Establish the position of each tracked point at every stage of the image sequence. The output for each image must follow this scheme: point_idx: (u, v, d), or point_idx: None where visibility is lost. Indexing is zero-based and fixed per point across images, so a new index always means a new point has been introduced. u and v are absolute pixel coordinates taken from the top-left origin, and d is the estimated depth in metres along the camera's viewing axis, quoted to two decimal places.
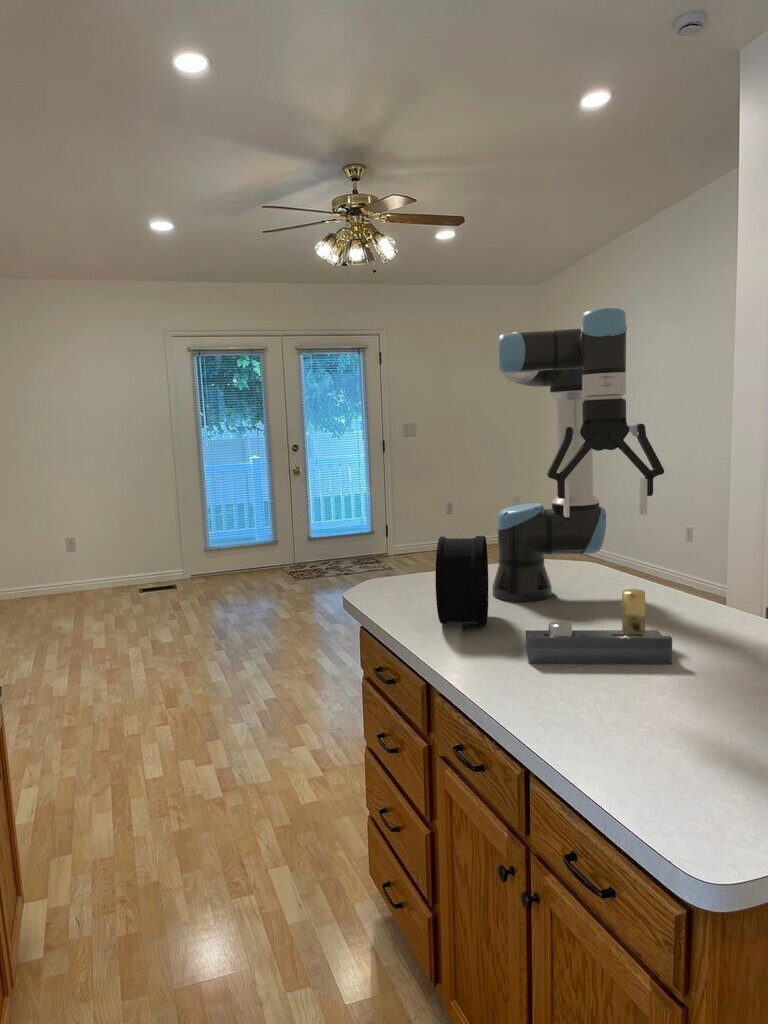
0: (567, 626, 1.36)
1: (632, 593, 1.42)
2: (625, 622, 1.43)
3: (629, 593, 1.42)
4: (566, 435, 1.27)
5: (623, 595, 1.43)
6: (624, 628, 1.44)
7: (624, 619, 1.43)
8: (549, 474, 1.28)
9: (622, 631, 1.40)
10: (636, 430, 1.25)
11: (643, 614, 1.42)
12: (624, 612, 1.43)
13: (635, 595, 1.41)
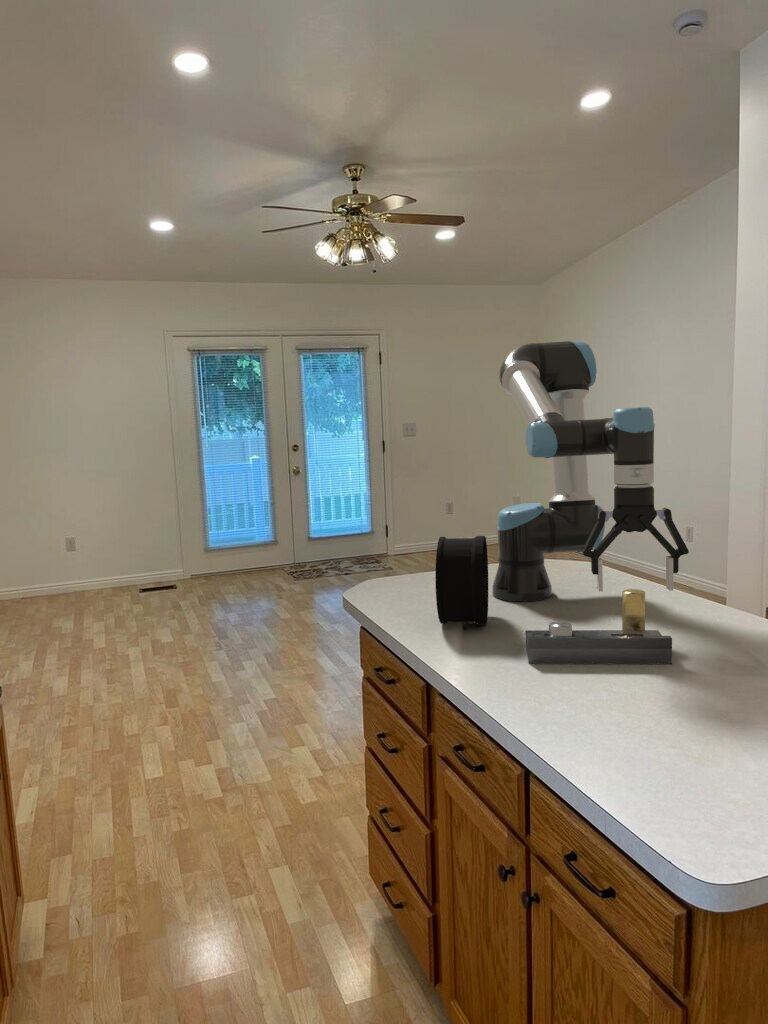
0: (567, 626, 1.36)
1: (632, 593, 1.42)
2: (625, 622, 1.43)
3: (629, 593, 1.42)
4: (600, 518, 1.41)
5: (623, 595, 1.43)
6: (624, 628, 1.44)
7: (624, 619, 1.43)
8: (584, 553, 1.42)
9: (622, 631, 1.40)
10: (663, 514, 1.39)
11: (643, 614, 1.42)
12: (624, 612, 1.43)
13: (635, 595, 1.41)
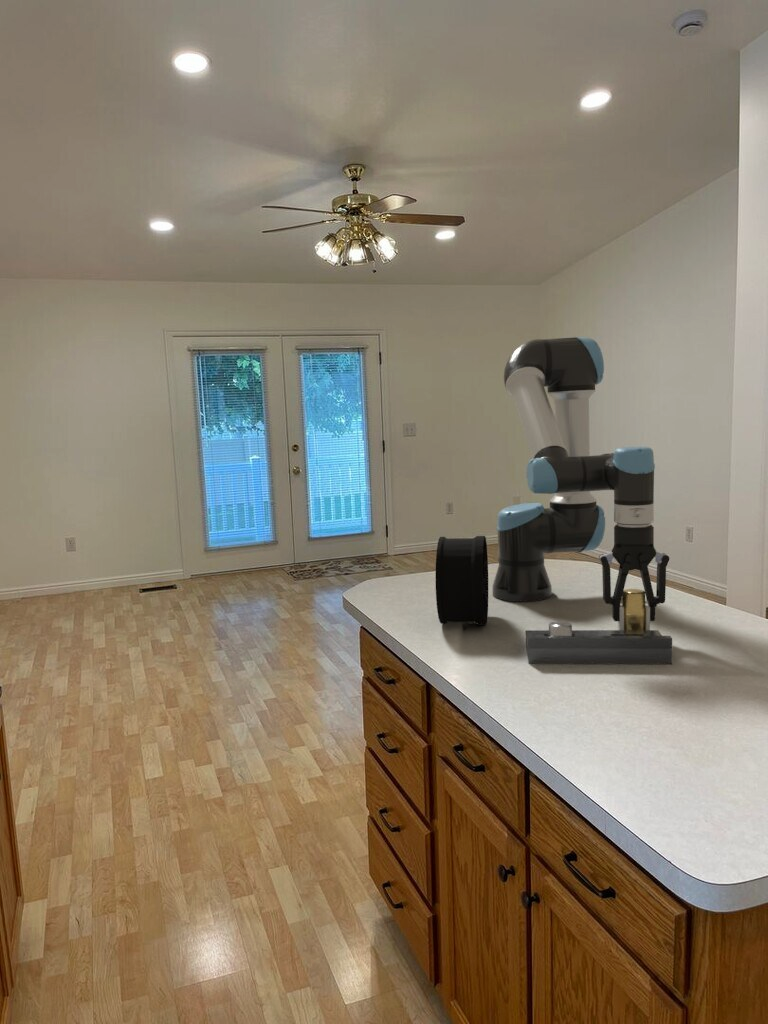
0: (567, 626, 1.36)
1: (632, 593, 1.42)
2: (625, 621, 1.43)
3: (629, 593, 1.42)
4: (603, 564, 1.42)
5: (623, 595, 1.43)
6: (624, 628, 1.44)
7: (624, 619, 1.43)
8: (606, 601, 1.43)
9: (622, 631, 1.40)
10: (660, 558, 1.41)
11: (643, 614, 1.42)
12: (624, 612, 1.43)
13: (635, 595, 1.41)
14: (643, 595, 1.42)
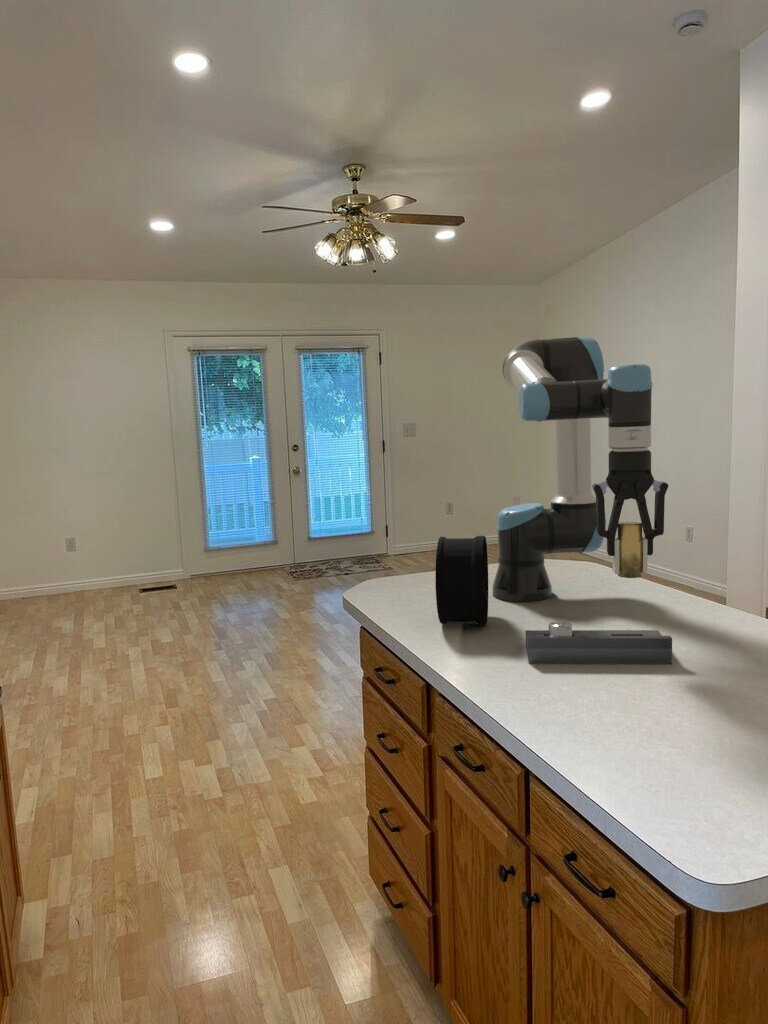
0: (567, 626, 1.36)
1: (628, 524, 1.31)
2: (621, 556, 1.32)
3: (625, 524, 1.31)
4: (597, 493, 1.31)
5: (618, 527, 1.32)
6: (619, 563, 1.33)
7: (619, 553, 1.33)
8: (600, 533, 1.32)
9: (622, 631, 1.40)
10: (658, 486, 1.30)
11: (640, 547, 1.31)
12: (619, 545, 1.32)
13: (631, 526, 1.30)
14: (640, 526, 1.31)
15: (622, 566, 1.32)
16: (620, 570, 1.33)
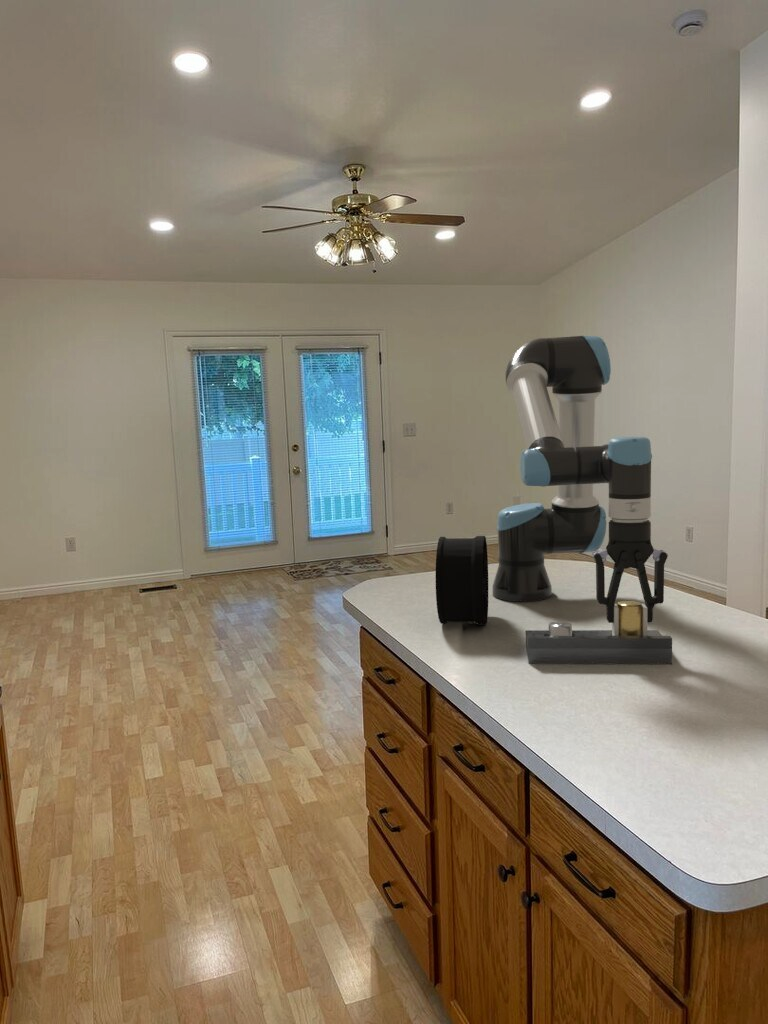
0: (567, 626, 1.36)
1: (628, 605, 1.34)
2: None
3: (625, 605, 1.34)
4: (597, 562, 1.33)
5: (618, 607, 1.35)
6: None
7: (619, 633, 1.35)
8: (599, 601, 1.34)
9: None
10: (658, 556, 1.32)
11: (639, 628, 1.34)
12: (619, 626, 1.35)
13: (631, 608, 1.33)
14: (639, 608, 1.33)
15: None
16: None
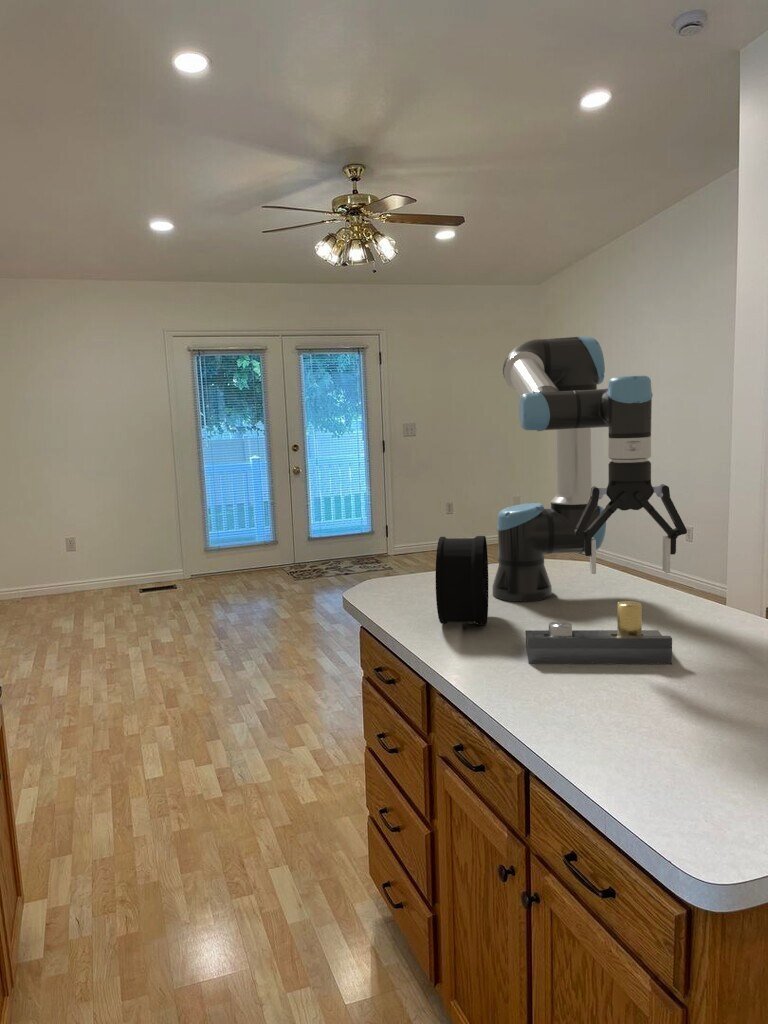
0: (567, 626, 1.36)
1: (628, 605, 1.34)
2: None
3: (625, 605, 1.34)
4: (593, 495, 1.32)
5: (618, 607, 1.35)
6: None
7: (619, 633, 1.35)
8: (577, 533, 1.33)
9: None
10: (660, 491, 1.30)
11: (639, 628, 1.34)
12: (619, 626, 1.35)
13: (631, 608, 1.33)
14: (639, 608, 1.33)
15: None
16: None
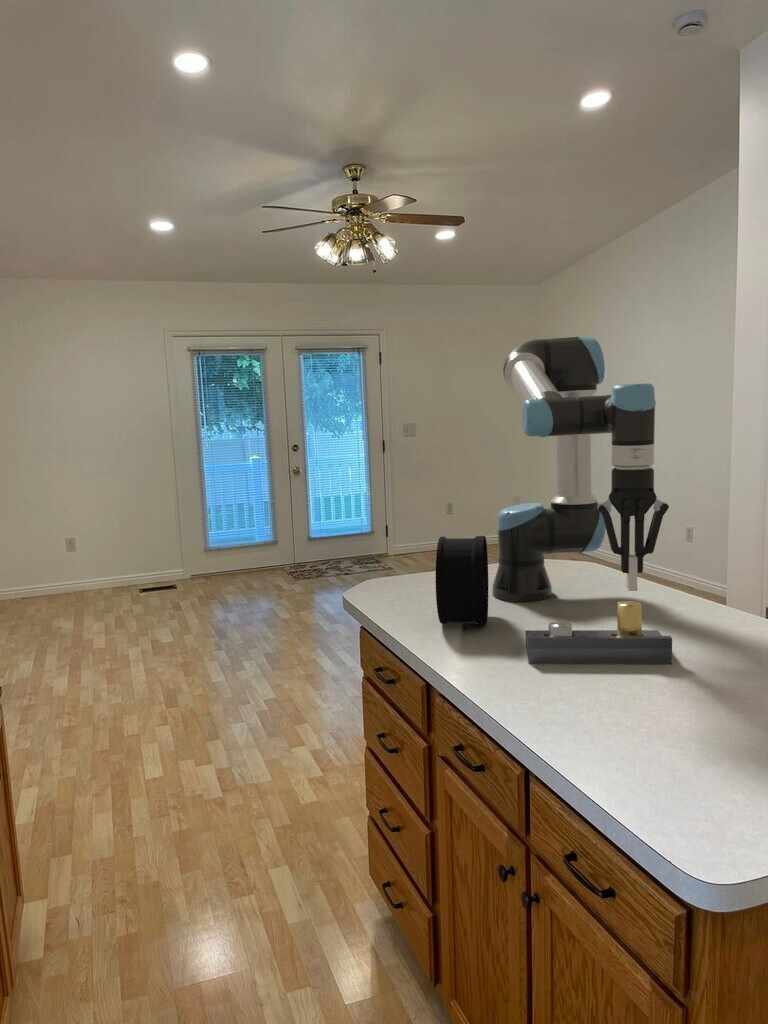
0: (567, 626, 1.36)
1: (628, 605, 1.34)
2: None
3: (624, 605, 1.34)
4: (602, 513, 1.33)
5: (618, 607, 1.35)
6: None
7: (619, 633, 1.35)
8: (614, 551, 1.33)
9: None
10: (659, 506, 1.32)
11: (639, 628, 1.34)
12: (619, 626, 1.35)
13: (631, 608, 1.33)
14: (639, 608, 1.33)
15: None
16: None
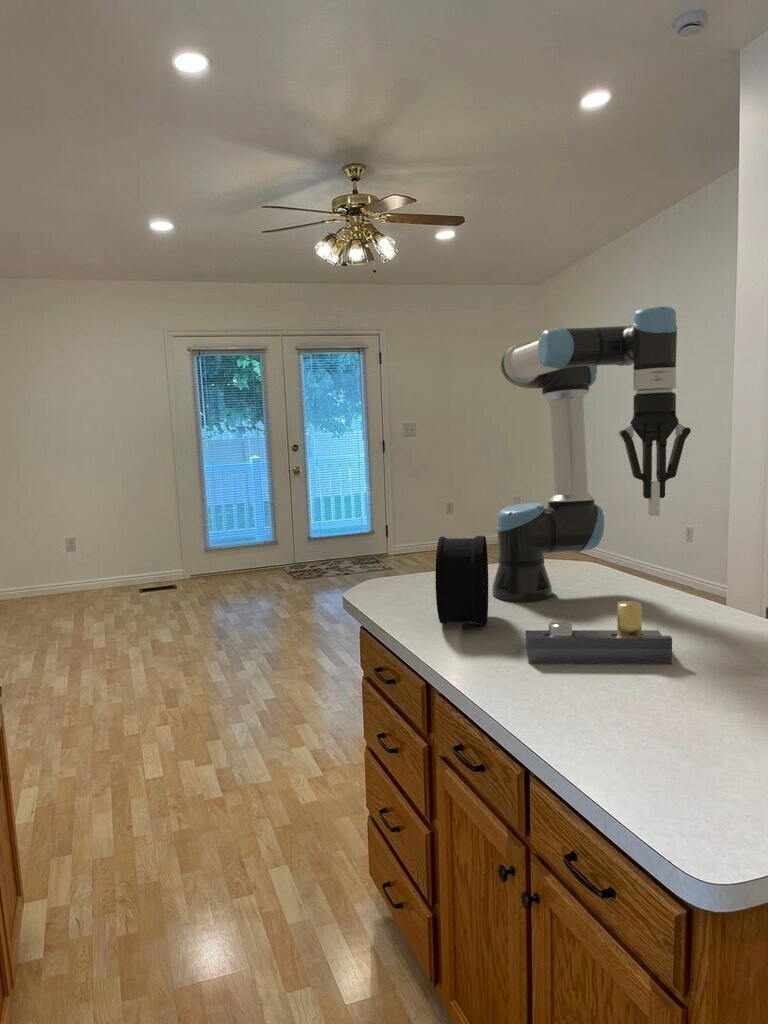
0: (567, 626, 1.36)
1: (628, 605, 1.34)
2: None
3: (624, 605, 1.34)
4: (625, 438, 1.34)
5: (618, 607, 1.35)
6: None
7: (619, 633, 1.35)
8: (636, 476, 1.35)
9: None
10: (681, 430, 1.33)
11: (639, 628, 1.34)
12: (619, 626, 1.35)
13: (631, 608, 1.33)
14: (639, 608, 1.33)
15: None
16: None
